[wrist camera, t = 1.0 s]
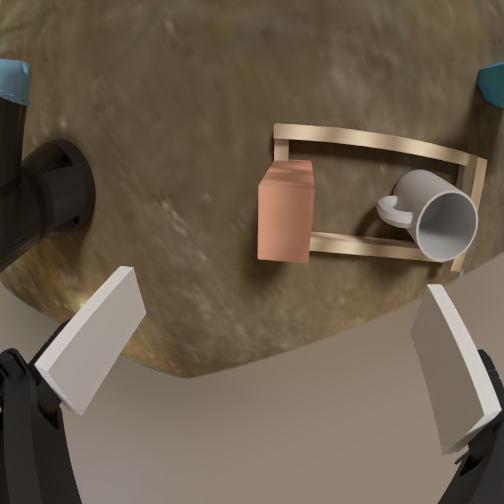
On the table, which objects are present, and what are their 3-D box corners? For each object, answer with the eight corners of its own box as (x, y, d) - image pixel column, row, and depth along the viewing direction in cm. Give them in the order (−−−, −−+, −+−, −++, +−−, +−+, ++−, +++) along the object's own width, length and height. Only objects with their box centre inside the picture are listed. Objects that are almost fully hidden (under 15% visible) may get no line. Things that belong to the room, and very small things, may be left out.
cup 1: (439, 225, 30) (470, 260, 23) (367, 226, 33) (384, 263, 25) (445, 169, 27) (482, 191, 19) (368, 167, 29) (390, 187, 22)
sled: (272, 239, 35) (257, 299, 25) (275, 123, 29) (259, 130, 18) (447, 255, 32) (486, 311, 21) (470, 153, 25) (530, 179, 15)
